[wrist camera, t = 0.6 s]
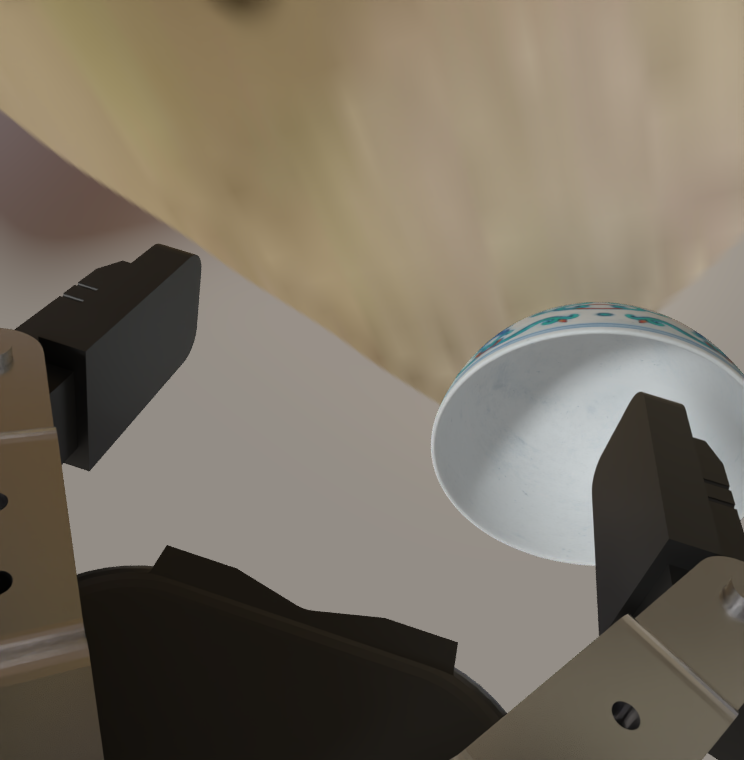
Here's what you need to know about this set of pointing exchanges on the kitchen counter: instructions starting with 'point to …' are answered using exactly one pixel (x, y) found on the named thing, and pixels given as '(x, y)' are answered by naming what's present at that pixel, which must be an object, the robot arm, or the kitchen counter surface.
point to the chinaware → (572, 418)
